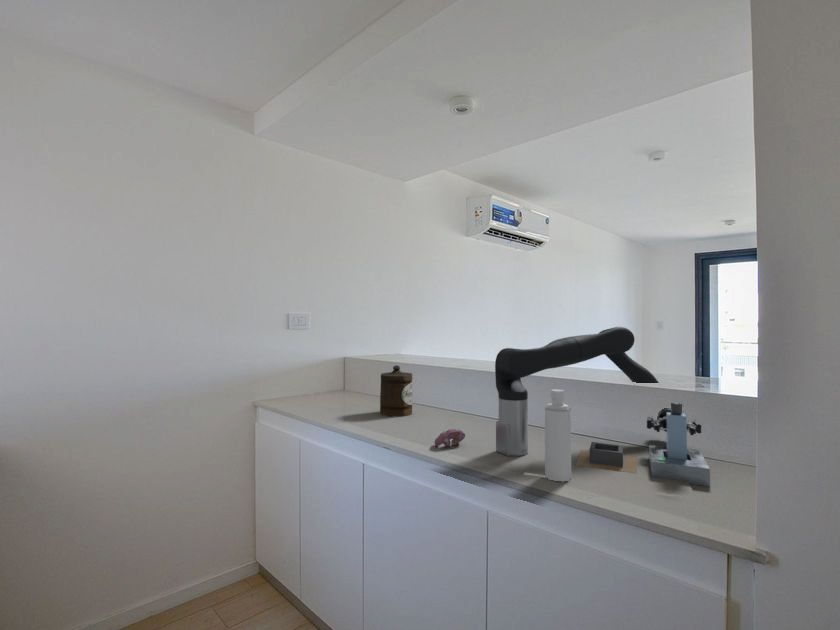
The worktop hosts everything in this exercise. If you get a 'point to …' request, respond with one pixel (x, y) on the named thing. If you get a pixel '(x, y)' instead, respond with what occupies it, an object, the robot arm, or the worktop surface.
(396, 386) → the wooden container
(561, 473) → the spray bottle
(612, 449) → the holster
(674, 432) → the plug
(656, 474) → the port block
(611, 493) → the worktop surface
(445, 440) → the raw steak
